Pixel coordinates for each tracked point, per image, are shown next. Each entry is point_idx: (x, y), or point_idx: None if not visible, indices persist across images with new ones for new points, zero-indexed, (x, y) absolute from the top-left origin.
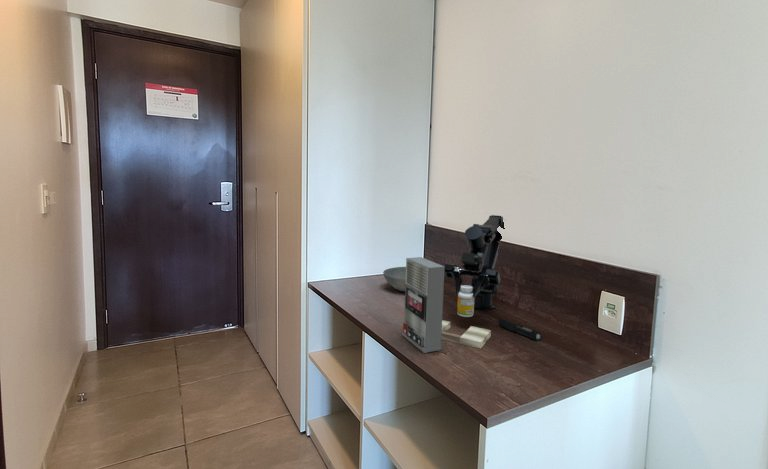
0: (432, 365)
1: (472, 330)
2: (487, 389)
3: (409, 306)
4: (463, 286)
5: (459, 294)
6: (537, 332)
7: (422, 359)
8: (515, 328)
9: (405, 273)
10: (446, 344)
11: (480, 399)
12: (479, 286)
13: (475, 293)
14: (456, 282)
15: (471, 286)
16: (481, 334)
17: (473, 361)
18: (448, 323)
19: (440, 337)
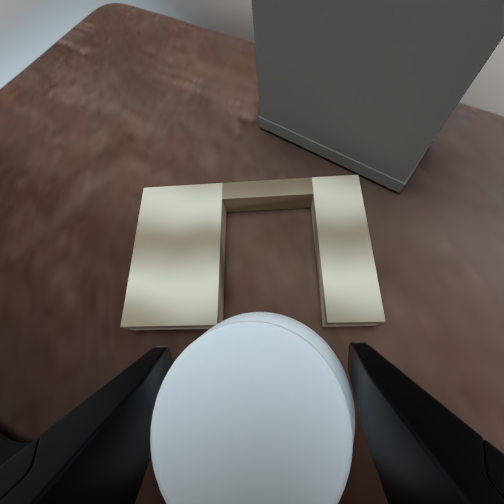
0: (245, 61)
1: (197, 273)
2: (112, 49)
3: None
4: (294, 390)
5: (313, 333)
6: None
7: None
8: (7, 448)
9: None
10: (263, 170)
11: (121, 22)
12: (19, 470)
13: (130, 371)
14: (483, 459)
15: (175, 474)
16: (153, 254)
17: (159, 123)
18: (325, 293)
19: (260, 87)
